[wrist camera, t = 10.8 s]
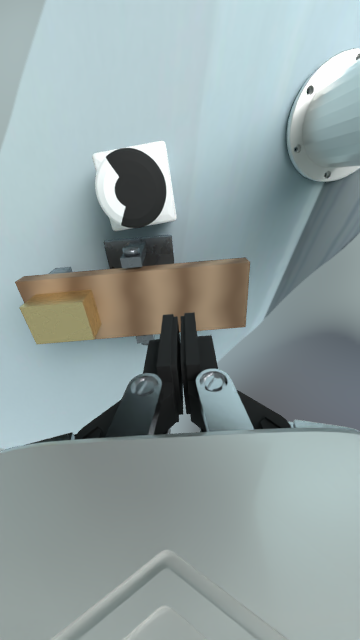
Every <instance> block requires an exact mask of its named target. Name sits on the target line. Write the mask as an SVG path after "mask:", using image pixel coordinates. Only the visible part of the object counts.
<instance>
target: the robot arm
mask: <svg viewBox="0 0 360 640" xmlns="http://www.w3.org/2000/svg"><path fill="white" fill-rule="evenodd" d="M355 59H356V61H355ZM306 90H308V95H307V93H306ZM287 148H288V152H289V156H290V159H291V161H292V163H293V165H294V166H295V168H296V169H297V171H298V172H299V173H301V174H302V175H303V176H304V177H306V178H308V179H310V180H313V181H319V182H329V181H336V180H339V179H342V178H344V177H347V176H348V175H350V174H352V173H354V172H355V171H356V170H358V169H359V168H360V48H353V49H350V50H346V51H343V52H341V53H339V54H337V55H335V56H334V57H332V58H330V59H329V60H327V61H326V62H325V63H323V64H322V65H321V66H320V67H319V68H318V69H317V70H316V71H315V72H314V73H313V74H312V75H311V76H310V77H309V78H308V80H307V81H306V82H305V84H304V85H303V87H302V88H301V90H300V92H299V94H298V95H297V97H296V99H295V102H294V104H293V107H292V109H291V113H290V116H289V120H288V127H287ZM294 148H296V151H294ZM324 174H325V176H324ZM183 388H184V397H185V405H186V413H187V414H191V421H192V422H193V423H195V424H196V425H197V426H198V427H199V428H200V432H196V433H179V434H170V431H171V430H170V428H171V427H172V426H173V425H174V424H175V423H176V422H179V415H180V414H183ZM0 640H360V431H358V430H356V429H352V428H349V427H343V426H335V425H329V424H322V423H315V422H308V421H301V420H294V422H288V421H287V420H286V419H284V418H283V417H282V416H281V415H279V414H277V413H275V412H274V411H272V410H270V409H269V408H267V407H265V406H263V405H262V404H260V403H258V402H257V401H255V400H253V399H252V398H250V397H248V396H246V395H245V394H243V393H241V392H239V391H238V390H236V388H235V386H234V384H233V382H232V380H231V378H230V376H229V375H228V374H227V373H226V372H224V371H222V370H220V369H218V367H217V361H216V356H215V351H214V346H213V341H212V336H211V335H210V336H197V330H196V321H195V312H193V313H184V316H181V343H180V334H179V325H178V317H177V316H176V317H174V315H173V314H167V315H163V317H162V326H161V334H160V339H157V340H149V344H148V350H147V355H146V360H145V366H144V371H143V374H140V375H138V376H136V377H134V378H133V379H132V380H131V381H130V382H129V384H128V386H127V388H126V390H125V393H124V395H123V397H122V399H121V400H120V401H119V402H117V403H116V404H115V405H113V406H112V407H110V408H109V409H108V410H106V411H105V412H104V413H102V414H101V415H100V416H98V417H97V418H95V419H94V420H93V421H91V422H90V423H89V424H87V425H86V426H84V427H83V428H82V429H81V430H80V431H79V432H78V433H77V434H75V435H73V433H72V432H71V433H67V434H64V435H60V436H56V437H53V438H49V439H45V440H41V441H38V442H34V443H30V444H26V445H22V446H17V447H12V448H9V449H5V450H2V451H0Z"/></svg>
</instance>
